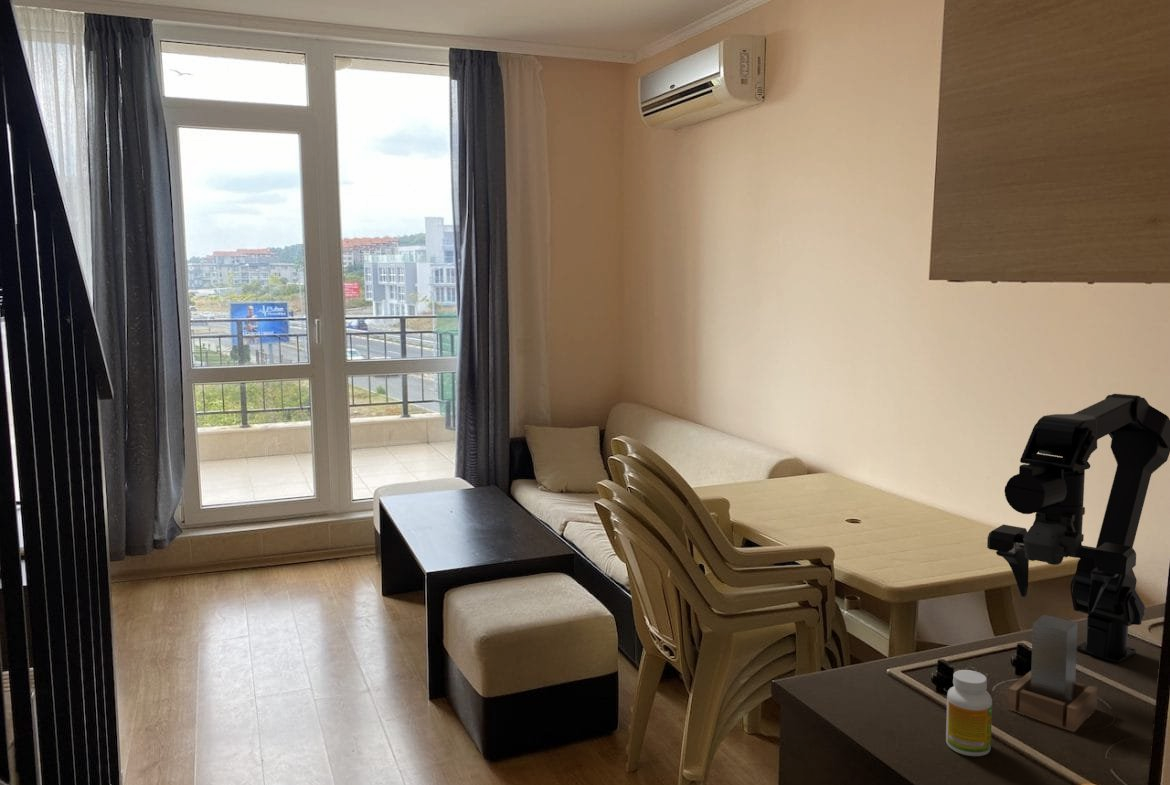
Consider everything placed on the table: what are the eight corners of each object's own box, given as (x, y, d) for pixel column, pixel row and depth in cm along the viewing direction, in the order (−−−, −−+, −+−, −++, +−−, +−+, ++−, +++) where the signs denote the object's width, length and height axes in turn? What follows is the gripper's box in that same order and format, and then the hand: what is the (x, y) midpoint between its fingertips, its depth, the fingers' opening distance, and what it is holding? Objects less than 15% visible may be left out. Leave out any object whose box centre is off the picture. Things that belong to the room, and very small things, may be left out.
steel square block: (1040, 697, 126) (1043, 614, 124) (1074, 707, 123) (1077, 622, 121) (1029, 708, 123) (1032, 623, 121) (1063, 718, 120) (1067, 631, 118)
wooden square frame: (1032, 691, 129) (1032, 668, 129) (1096, 711, 123) (1097, 687, 122) (1008, 712, 123) (1008, 688, 123) (1074, 734, 117) (1075, 709, 117)
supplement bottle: (995, 759, 111) (997, 687, 110) (950, 755, 112) (952, 684, 111) (985, 737, 116) (987, 668, 115) (942, 734, 117) (943, 665, 116)
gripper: (974, 502, 129) (971, 603, 131) (1116, 525, 116) (1110, 637, 118) (1003, 488, 137) (999, 584, 139) (1139, 508, 124) (1134, 613, 126)
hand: (1056, 603), depth 130 cm, fingers open, 9 cm apart
